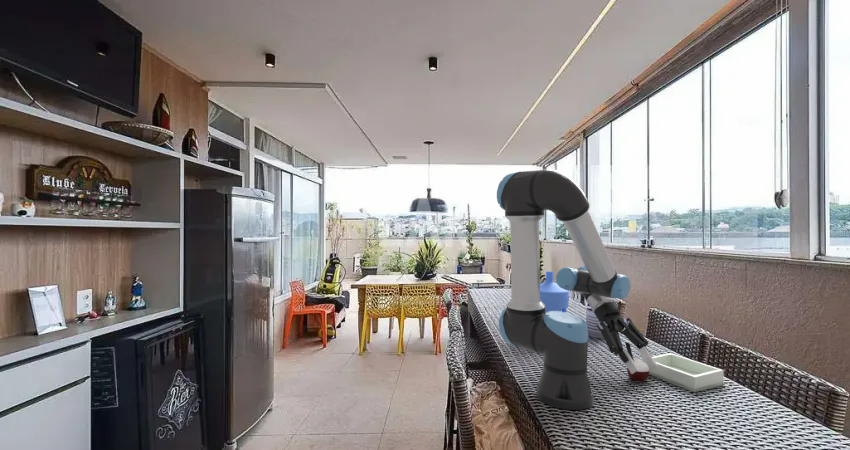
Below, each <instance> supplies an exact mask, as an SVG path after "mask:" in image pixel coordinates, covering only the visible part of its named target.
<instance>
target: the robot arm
mask: <svg viewBox="0 0 850 450" xmlns="http://www.w3.org/2000/svg"><path fill="white" fill-rule="evenodd" d="M496 189H497V190H496V201H497V204H499V207H500V208H501V209H502V210H503V211H504V217H505V218H506V219H507V220H508V221H509V222H510V223H509V224H510V227H509V228H510V229H509V230H510V235H509V236H510V281H511V282H510V286H511V287H510V288H511V289H510V290H511V299H510V300H509V301H508V302H507V303H506V307H505V308H504V309H503V310H502V311H501V314H500V316H499V318H498V319H499V320H498V330H499V332H500V335H501V337H502V339H503V340H504V341H505V342H506V343H508V344H509V345H512V346H514V347H515V348H517V349H522V350H527V351H528V352H532V353H536V354H539V355H541V356H543V368H542V369H543V370H542V373H541V375H540V377H539V382H538V383H537V385H536V396H537V399H539V400H540V401H541V402H542V403H544V404H546V405H548V406H551V407H554V408H557V409H562V410H568V411H580V410H581V411H582V410H587V409H589V408H592V406H593V405H594V392H593V390H592V386H591V382H590V379H589V376H588V354H589V351H588V348H589V335H588V327H587V324H586V320H585V319H584V318H582V317H580V316H578V315H577V314H573V313H570V312H567V311H566V312H562V310H561V311H549V312H547V313H546V314H545V304H544V303H543V302H542V301H541V300H540V284H541V274H540V273H541V270H540V269H541V266H540V265H541V263H540V261H541V260H540V259H541V257H540V254H541V253H540V221H541V220H542V219H543V218H544V217H545V211H550V212H552V213H553V214H554V216H555V217H556V219H557V220H558V221H560V222H562V223H563V225H564V227H565V229H566V231H567V233H568V235H569V237H570V239H571V241H572V243H573V244H574V247H575V249H576V251H577V252H578V253H577V254H579V256H580V259H581V260H582V262H583V265H584V266H579V267H577V268H573V267H567V266H566V267H565V266H564V267H562V268H560V269H559V270H558V271H557V273H556V275H555V283H556V284H558V286H559V287H560V288H562V289H565V290H568V291H569V292H570V291H571V292H576V293H580V294H581V295H582V297H583V298H584V299H585V301H586V302H587V304H588V305H589V306H590V307H591V309H592V310H593V311H594V314H595V315H596V317H597V318H598V320H599V321H600V323H599V324H598V325H597V327H598V329H599V330H600V331H601V333H602V335H603V337H604V338H603V340H604V341H605V343H606V345H607V348H608V350H609V351H610V353H612V354H613V355H615V356H618V357H619V358H620V359H621V362H623V364H624V365H625V366H626V369H627V368H628V369H629V371H630V372H631V374H633V373H635V372H636V371H638V370H639V369H638V367H637V366H636V364H635V363H634V361H633V360H632V358H631V357H630V355H629V353H628V352H627V349H624V347H623V344H622V340H621V337H620V334H621V335H624V337H626V339H627V340H629V342H630V343H632V344H633V345H634V346H635V347H636V348H637V349H638V350H637V351H638V354H639V355H640V356H641V358H642V360H643V359H644V361H645V362H646V363H647V364H648V365H649V368H650V370H652V369H654V368H655V367H657V366H658V365H657V363H656V362H655V361H654V359H653V358H652V357H653V356H652V353H650V351H649V349H648V348H647V346H648V345H649V341H648V340H647V339H646V337H645V336H644V335H643V334H642V333H641V331H640V330H639V329H638V327H636V326H635V324H634V323H633V320H632V319H631V318H630V317H627V318H623V317H622V316H621V315H620V309H619V307H618V306H617V304H616V303H615V302H614V300H613V299H618V300H619V299H621V300H622V299H626V298H627V297H628V295H629V293H630V290H631V281H630V279H629V277H628V276H627V275H624V274H622V273H621V274H620V273H617V271H616V269H615V267H614V264H613V262H612V259H611V258H610V255H609V253H608V251H607V249H606V247H605V244H604V243H603V240H602V238H601V235H600V233H599V231H598V229H597V227H596V225H595V223H594V221H593V219H592V218H593V217H592V216H591V214H590V212H589V210H590V205H591V204H590V203H589V201H588V198H587V195H585V193H584V191H583V190H582V188H580V186H579V185H578V184H577V183H576V182H575V181H574V180H573V179H572V178H571V177H570V176H569V175H567V174H565V173H564V172H561V171H559V170H556V169H551V168H546V169H540V170H539V169H538V170H525V171H516V172H512V173H508V174H506V175H505V176H504V177H503V178H502V179H501V180H500V182H499V183H498V185H497V188H496Z"/></svg>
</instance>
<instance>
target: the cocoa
mask: <svg viewBox="0 0 850 450" xmlns="http://www.w3.org/2000/svg"><path fill="white" fill-rule="evenodd" d="M624 344H625V347H626V348H625V349H626V350H627V352H628V353H629V355H630V357H631V358H632V360H633V361H634V363H635V364H636V366H637V367H638V369H639V370H638V371H636V372H635V373H633V374H631V372H630V371H629V369H628V368H627V367H626V372H627V375H628V377H629V378H630V379H631V380H632V381H635V382H645V381H647V380H648V379H649V376H650V375H649V365H648V364H647V363H646V362H643V359H640V358H637V357H634V355H633V351H632V347H631V344H630V343H629V342H626V341H625V343H624Z"/></svg>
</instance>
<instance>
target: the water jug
mask: <svg viewBox="0 0 850 450" xmlns="http://www.w3.org/2000/svg"><path fill="white" fill-rule="evenodd" d="M554 274H555V273H554V272H553V271H545V281H544V282H542V283H541V282H540V300H541V301H542V302H543V303H544V304H545V314H546V313H547V312H549V311H561V312H567V308H568V307H569V304H570V303H569V301H570V295H569V294H570V291H568V290H565V289H562V288H560V287H559V286H558V284H557V282H554Z"/></svg>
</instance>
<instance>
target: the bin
mask: <svg viewBox="0 0 850 450" xmlns="http://www.w3.org/2000/svg"><path fill="white" fill-rule="evenodd" d="M652 358H653V359H654V361H655V362H656V363H657V365H658V366H657V367H655V368H654V369H652V370H650V368H649V375H648V376H651V375H652V376H651V377H654V376H655V377H654V378H656V377H657V378H656V379H659V378H660V379H659V380H661V379H662V380H661V381H664V380H665V381H664V382H666V381H667V383H669V382H670V383H669V384H672V385H674V384H675V386H677V387H679V386H680V387H679V388H682V389H684V388H685V390H687V391H690V392H691V393H692V392H693V393H697V392H701V391H705V390H708V389H712V388H716V387H720V386H723V385H724V376H725V375H724V373H725V371H724V369H721V368H718V367H714V366H712V365H708V364H705V363H704V362H703V363H702V362H700V361H697V360H694V359H690V358H686V357H684V356H681V355H678V354H675V353H671V352H669V353H664V354H659V355H654V356H652ZM642 361H643V362H645V361H644V359H643V358H642Z"/></svg>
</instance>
